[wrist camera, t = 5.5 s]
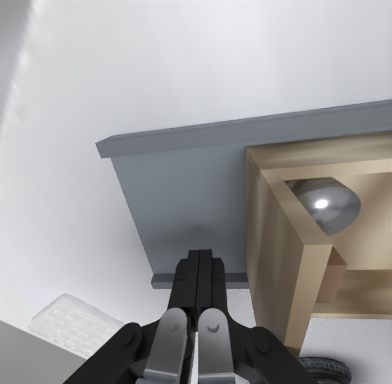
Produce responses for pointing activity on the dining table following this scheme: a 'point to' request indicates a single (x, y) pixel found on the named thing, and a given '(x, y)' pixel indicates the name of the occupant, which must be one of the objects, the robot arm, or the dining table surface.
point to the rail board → (212, 180)
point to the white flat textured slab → (75, 324)
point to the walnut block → (331, 278)
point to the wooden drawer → (317, 233)
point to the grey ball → (327, 202)
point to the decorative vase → (326, 370)
